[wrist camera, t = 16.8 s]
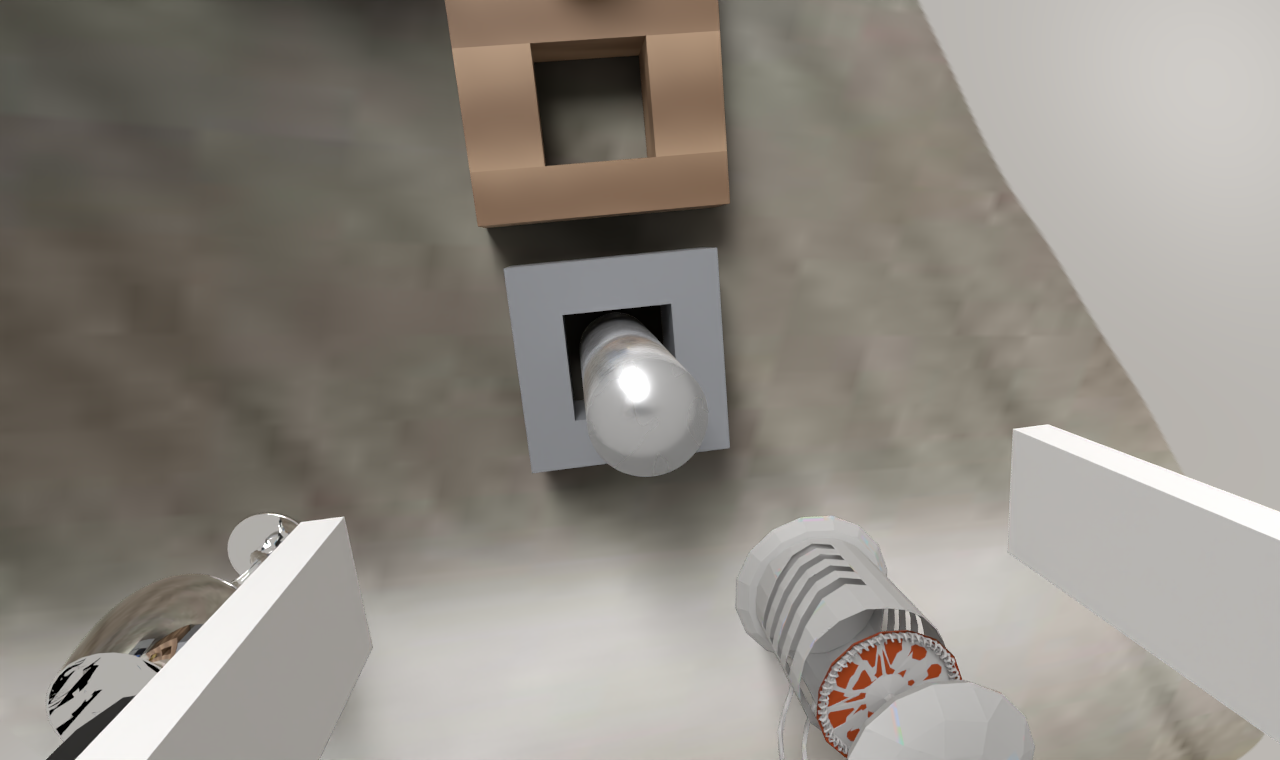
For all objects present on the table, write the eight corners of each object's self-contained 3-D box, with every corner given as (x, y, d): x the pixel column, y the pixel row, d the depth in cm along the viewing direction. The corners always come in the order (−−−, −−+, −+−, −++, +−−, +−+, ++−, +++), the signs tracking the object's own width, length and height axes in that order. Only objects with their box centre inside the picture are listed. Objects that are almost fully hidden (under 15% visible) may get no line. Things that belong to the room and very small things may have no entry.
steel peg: (575, 316, 33) (580, 366, 20) (648, 308, 34) (704, 352, 20) (583, 388, 34) (594, 484, 21) (655, 380, 34) (712, 468, 21)
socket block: (434, -133, 28) (418, -177, 25) (693, -144, 29) (707, -186, 26) (486, 228, 32) (477, 226, 29) (715, 206, 33) (729, 203, 30)
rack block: (511, 265, 32) (503, 268, 28) (699, 247, 33) (717, 247, 29) (536, 447, 35) (532, 473, 31) (712, 425, 35) (729, 448, 32)
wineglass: (259, 480, 33) (91, 608, 22) (348, 544, 34) (236, 696, 23) (192, 556, 34) (-7, 721, 22) (283, 616, 35) (140, 802, 23)
